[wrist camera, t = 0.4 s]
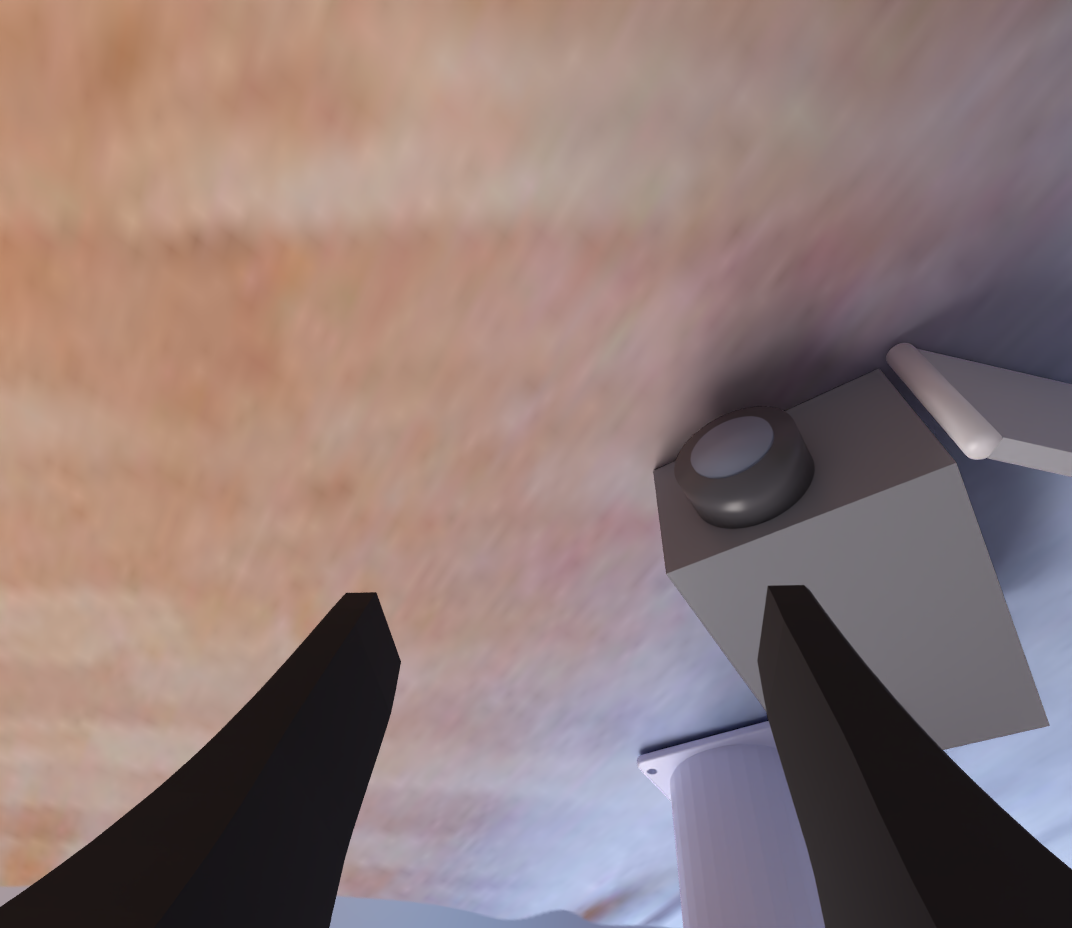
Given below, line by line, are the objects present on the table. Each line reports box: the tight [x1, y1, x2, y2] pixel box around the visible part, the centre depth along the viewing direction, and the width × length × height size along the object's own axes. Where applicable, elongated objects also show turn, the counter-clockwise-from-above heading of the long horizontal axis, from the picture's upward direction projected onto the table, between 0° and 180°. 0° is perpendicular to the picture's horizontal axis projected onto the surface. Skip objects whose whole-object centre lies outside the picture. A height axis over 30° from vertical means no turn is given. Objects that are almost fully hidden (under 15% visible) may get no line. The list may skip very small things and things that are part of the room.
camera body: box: [653, 369, 1050, 750], centre depth 20 cm, size 14×8×6 cm, turn 34°
